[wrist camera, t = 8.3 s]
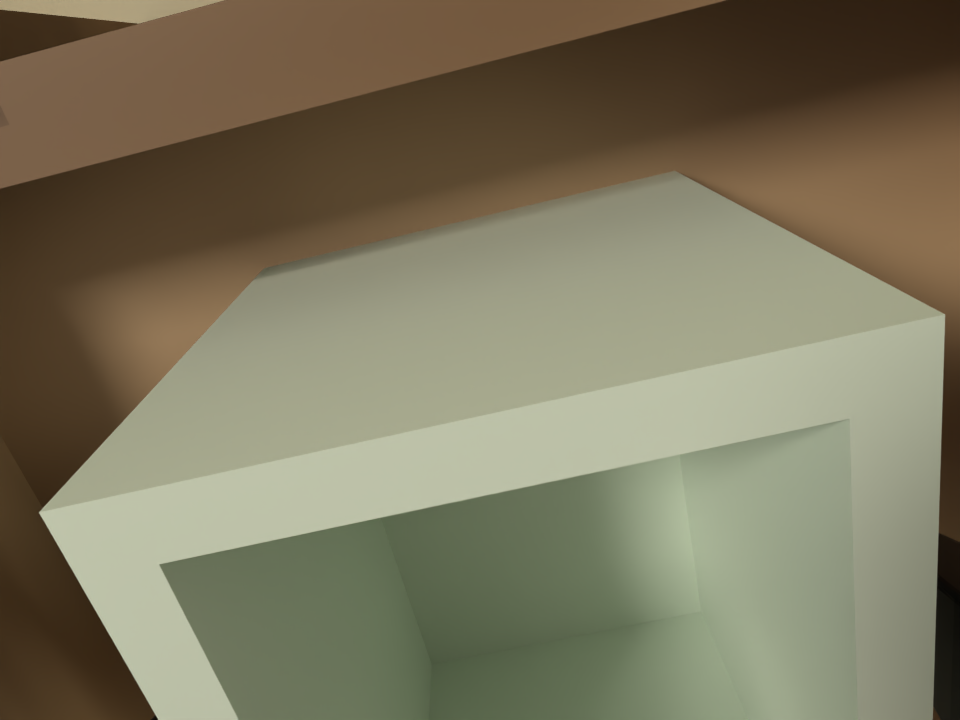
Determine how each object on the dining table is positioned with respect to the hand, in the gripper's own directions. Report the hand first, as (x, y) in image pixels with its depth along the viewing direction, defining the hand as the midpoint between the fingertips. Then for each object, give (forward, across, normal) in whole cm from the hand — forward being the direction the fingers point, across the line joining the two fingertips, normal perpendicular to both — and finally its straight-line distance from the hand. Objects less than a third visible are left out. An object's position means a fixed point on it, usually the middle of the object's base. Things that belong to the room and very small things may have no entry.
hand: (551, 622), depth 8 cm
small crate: (+4, 0, 0) cm, 4 cm away
